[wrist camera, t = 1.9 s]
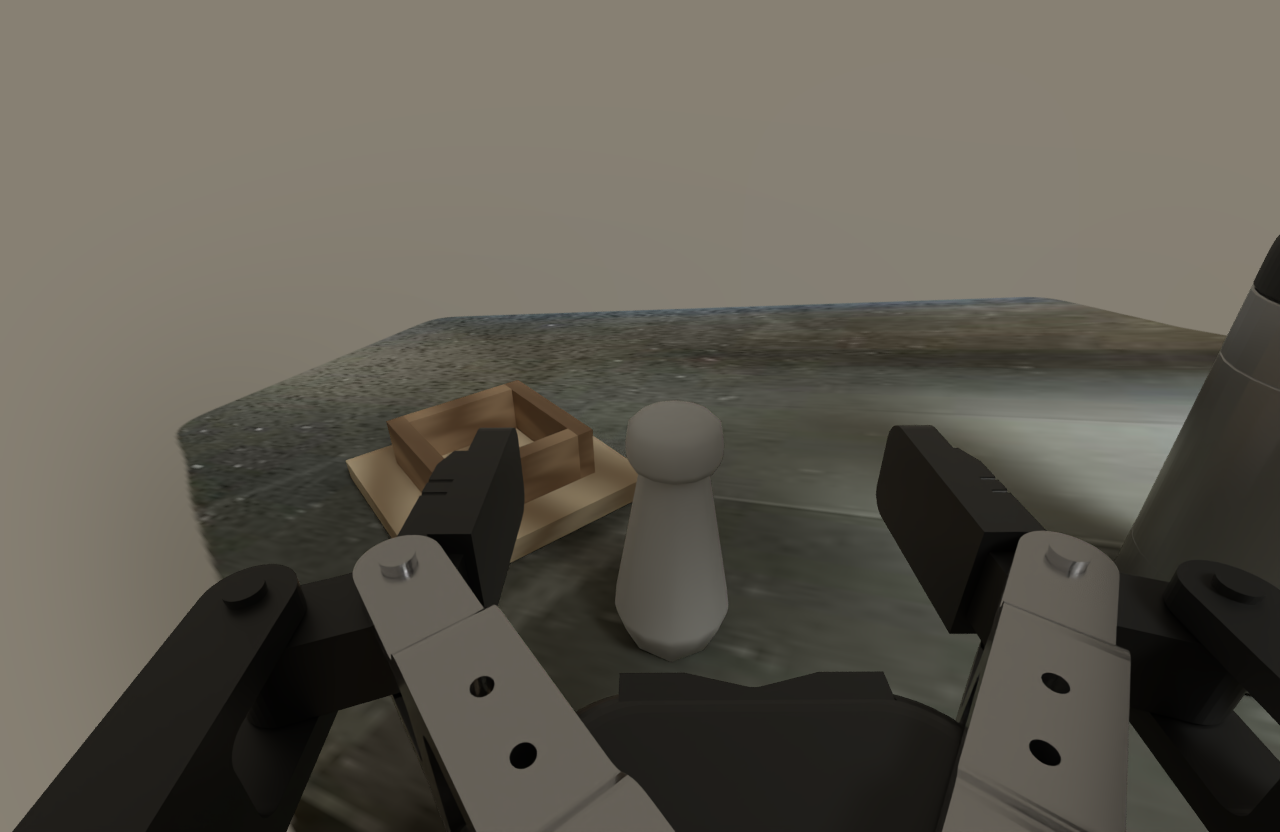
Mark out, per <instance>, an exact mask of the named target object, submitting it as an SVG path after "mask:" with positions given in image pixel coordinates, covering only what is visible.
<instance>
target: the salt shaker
mask: <svg viewBox="0 0 1280 832" xmlns="http://www.w3.org/2000/svg"><path fill="white" fill-rule="evenodd" d="M625 446H626V455H627V458H628V461H629V463H630V464H631V466H632V467H633V468H634V470H635V471H636V473H637V474H638V477H637V482H636V487H635V492H634V497H633V503H632V508H631V513H630V518H629V523H628V528H627V533H626V538H625V543H624V549H623V554H622V559H621V564H620V569H619V574H618V579H617V585H616V597H615V605H616V609H617V612H618V614H619V616H620V618H621V620H622V622H623V624H624V626H625V628H626V630H627V631H628V633H629V634H630V636H631V637H632V638H633V640H634V641H635V643H636V644H637V645H638V647H639V648H640V649H642V650H645V651H647V652H649V653H651V654H654V655H656V656H658V657H660V658H663V659H665V660H667V661H670V662H673V661H676V660H679V659H681V658H684V657H687V656H689V655H692V654H695V653H697V652H700V651H703V650H704V649H705V647H706V646H707V645H708V643H709V642H710V641H711V639H712V638H713V636H714V635H715V634H716V632H717V631H718V629H719V627H720V625H721V623H722V621H723V619H724V618H725V616H726V614H727V610H728V596H727V586H726V579H725V573H724V566H723V559H722V552H721V545H720V538H719V531H718V524H717V518H716V511H715V504H714V497H713V490H712V483H711V475H713V473H714V472H715V470H716V469H717V468H718V466H719V465H720V463H721V461H722V459H723V453H724V438H723V431H722V423H721V421H720V420H719V419H718V418H717V417H716V416H715V415H714V414H713V413H712V412H710V411H709V410H708V409H707V408H706V407H703V406H701V405H698V404H695V403H693V402H685V401H676V400H674V401H663V402H657V403H654V404H651V405H648V406H646V407H644V408H643V409H641V410H640V411H639V412H638V413H637V414H635V415H634V416H633V417H632V418H631V419H630V420H629V421H628V427H627V434H626V443H625Z"/></svg>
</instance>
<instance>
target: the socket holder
mask: <svg viewBox="0 0 1280 832" xmlns="http://www.w3.org/2000/svg"><path fill="white" fill-rule="evenodd" d="M386 422H387V426H388V430H389V434H390V438H391V442H392V445H391V446H388V447H385V448H382V449H379V450H376V451H373V452H370V453H367V454H364V455H361V456H358V457H355V458H352V459H349V460H346V463H347V466H348V469H349V473H350V476H351V478H352V480H353V481H354V483H355V484H356V486H357V487H358V489H359V490H360V492H361V493H362V495H363V496H364V498H365V499H366V501H367V502H368V504H369V505H370V507H371V508H372V510H373V511H374V513H375V514H376V516H377V517H378V519H379V520H380V522H381V523H382V525H383V526H384V528H385V529H386V530H387V532H388V533H389V535H390V536H391V538H395V537H397V535H398V534H399V532H400V530H401V528H402V526H403V525H404V523H405V521H406V519H407V517H408V516H409V514H410V512H411V510H412V508H413V507H414V505H415V503H416V501H417V499H418V498H419V496H421V495H422V490H423V489H424V487H425V485H426V483H428V482H429V478H430V476H431V474H432V472H433V471H434V469H435V467H436V465H437V464H438V463H439V462H441V461H442V460H443V459H444V458H446V457H447V456H448V455H449V454H451V453H452V452H453V451H468V449H469V447H470V445H471V443H472V441H473V439H474V437H475V435H476V433H477V431H478V429H479V428H515V429H516V431H517V435H518V441H519V449H520V457H521V465H522V473H523V482H524V492H525V502H524V513H523V517H522V521H521V525H520V528H519V532H518V535H517V539H516V542H515V546H514V550H513V553H512V557H511V560H510V563H511V562H513V561H515V560H517V559H519V558H521V557H523V556H525V555H527V554H529V553H531V552H533V551H535V550H537V549H539V548H541V547H543V546H545V545H547V544H549V543H551V542H553V541H555V540H557V539H559V538H561V537H563V536H565V535H567V534H569V533H571V532H573V531H575V530H577V529H579V528H581V527H583V526H585V525H587V524H589V523H591V522H593V521H595V520H597V519H599V518H601V517H603V516H605V515H607V514H609V513H611V512H613V511H615V510H617V509H619V508H621V507H623V506H625V505H627V504H629V503H631V502H633V497H634V492H635V487H636V482H637V477H638V474H637V473H636V471H635V470H634V468H633V467H632V466H631V464H630V463H629V461H628V459H626V458H625V457H623V456H622V455H621V454H619V453H618V452H616V451H615V450H613V449H612V448H610V447H609V446H607V445H606V444H604V443H603V442H601V441H600V440H598V439H597V438H595V437H594V436H593V430H592V429H591V428H589V427H588V426H586V425H585V424H583V423H582V422H580V421H579V420H577V419H576V418H574V417H573V416H571V415H570V414H568V413H567V412H565V411H564V410H562V409H561V408H559V407H558V406H556V405H555V404H553V403H552V402H550V401H549V400H547V399H546V398H544V397H543V396H541V395H540V394H538V393H537V392H535V391H534V390H532V389H531V388H529V387H528V386H526V385H525V384H523V383H522V382H520V381H519V380H516V381H513V382H510V383H507V384H504V385H500V386H497V387H494V388H491V389H488V390H484V391H481V392H478V393H475V394H472V395H469V396H465V397H462V398H459V399H456V400H453V401H450V402H446V403H443V404H440V405H437V406H434V407H430V408H427V409H424V410H421V411H418V412H415V413H411V414H408V415H405V416H402V417H399V418H395V419H392V420H389V421H386Z"/></svg>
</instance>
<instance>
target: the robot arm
mask: <svg viewBox="0 0 1280 832" xmlns="http://www.w3.org/2000/svg"><path fill="white" fill-rule="evenodd" d="M876 498H877V506H878V510H879V513H880V515H881V517H882V519H883V520H884V522H885V524H886V525H887V527H888V529H889V531H890V532H891V534H892V536H893V537H894V539H895V541H896V543H897V544H898V546H899V548H900V549H901V551H902V553H903V555H904V556H905V558H906V560H907V561H908V563H909V565H910V567H911V568H912V570H913V572H914V574H915V575H916V577H917V579H918V580H919V582H920V584H921V586H922V587H923V589H924V591H925V592H926V594H927V596H928V598H929V599H930V601H931V603H932V604H933V606H934V608H935V610H936V611H937V613H938V615H939V616H940V618H941V620H942V622H943V623H944V625H945V627H946V629H947V630H948V632H949V634H977V635H978V636H979V638H980V639H981V642H980V644H979V647H978V649H977V652H976V655H975V658H974V661H973V665H972V668H971V671H970V674H969V678H968V681H967V684H966V687H965V691H964V694H963V697H962V700H961V704H960V707H959V710H958V713H957V717H956V720H954V719H952V718H951V717H949V716H947V715H945V714H943V713H941V712H939V711H937V710H936V709H934V708H931V707H929V706H927V705H924V704H922V703H920V702H917V701H914V700H911V699H908V698H905V697H902V696H898V695H894V694H892V691H891V689H890V687H889V684H888V682H887V679H886V677H885V675H884V672H816V673H813V674H809V675H805V676H801V677H797V678H793V679H789V680H785V681H781V682H777V683H773V684H769V685H765V686H761V687H746V686H742V685H737V684H733V683H728V682H724V681H719V680H715V679H710V678H706V677H701V676H696V675H692V674H687V673H620V679H619V694H618V695H615V696H611V697H607V698H604V699H602V700H599V701H597V702H594V703H592V704H590V705H588V706H586V707H584V708H582V709H580V710H578V711H577V712H575V711H574V710H573V709H572V707H571V706H570V704H569V703H568V702H567V700H566V699H565V698H564V696H563V695H562V693H561V692H560V691H559V689H558V688H557V687H556V685H555V684H554V682H553V681H552V680H551V678H550V677H549V676H548V674H547V673H546V671H545V670H544V669H543V667H542V666H541V665H540V663H539V662H538V660H537V659H536V658H535V656H534V655H533V654H532V652H531V651H530V649H529V648H528V647H527V645H526V644H525V643H524V641H523V640H522V638H521V637H520V636H519V634H518V633H517V632H516V630H515V629H514V627H513V626H512V625H511V623H510V622H509V621H508V619H507V618H506V616H505V615H504V614H503V612H502V611H501V610H500V609H499V608H498V603H499V600H500V596H501V592H502V589H503V585H504V582H505V578H506V575H507V571H508V567H509V564H510V560H511V557H512V553H513V550H514V546H515V542H516V539H517V535H518V532H519V528H520V525H521V521H522V517H523V513H524V502H525V492H524V482H523V473H522V465H521V457H520V449H519V441H518V435H517V431H516V429H515V428H479V429H478V431H477V433H476V435H475V437H474V439H473V441H472V443H471V445H470V447H469V449H468V451H453V452H452V453H451V454H449V455H448V456H447V457H446V458H444V459H443V460H442V461H441V462H439V463H438V464H437V465H436V467H435V469H434V471H433V472H432V474H431V476H430V478H429V482H428V483H426V485H425V487H424V489H423V490H422V495H421V496H419V498H418V499H417V501H416V503H415V505H414V507H413V508H412V510H411V512H410V514H409V516H408V517H407V519H406V521H405V523H404V525H403V526H402V528H401V530H400V532H399V534H398V535H397V537H395V538H392V539H389V540H386V541H384V542H381V543H379V544H377V545H376V546H374V547H372V548H371V549H369V550H368V551H367V552H365V553H364V554H363V555H362V556H361V557H360V559H359V560H358V561H357V563H356V565H355V566H354V569H353V572H352V573H349V574H346V575H342V576H339V577H334V578H330V579H325V580H321V581H317V582H312V583H308V584H304V585H300V584H299V581H298V578H297V576H296V573H295V572H294V571H293V570H292V569H290V568H289V567H286V566H283V565H277V564H267V565H259V566H254V567H250V568H247V569H244V570H241V571H239V572H236V573H234V574H232V575H230V576H228V577H226V578H224V579H222V580H221V581H219V582H218V583H216V584H215V585H213V586H212V587H211V588H210V589H208V590H207V591H206V592H205V593H204V594H203V595H202V596H201V598H199V600H198V601H197V602H196V604H195V605H194V606H193V607H192V608H191V610H190V611H189V612H188V613H187V615H186V616H185V617H184V618H183V620H182V621H181V622H180V623H179V625H178V626H177V627H176V628H175V630H174V631H173V632H172V633H171V635H170V636H169V637H168V638H167V640H166V641H165V642H164V643H163V645H162V646H161V647H160V648H159V650H158V651H157V652H156V653H155V655H154V656H153V657H152V658H151V660H150V661H149V662H148V663H147V665H146V666H145V667H144V668H143V670H142V671H141V672H140V673H139V674H138V676H137V677H136V678H135V679H134V681H133V682H132V683H131V684H130V686H129V687H128V688H127V689H126V691H125V692H124V693H123V694H122V696H121V697H120V698H119V699H118V701H117V702H116V703H115V704H114V706H113V707H112V708H111V709H110V711H109V712H108V713H107V714H106V716H105V717H104V718H103V719H102V721H101V722H100V723H99V724H98V726H97V727H96V728H95V729H94V731H93V732H92V733H91V734H90V736H89V737H88V738H87V739H86V741H85V742H84V743H83V744H82V746H81V747H80V748H79V749H78V751H77V752H76V753H75V754H74V756H73V757H72V758H71V759H70V760H69V762H68V763H67V764H66V766H65V767H64V768H63V769H62V770H61V772H60V773H59V774H58V775H57V777H56V778H55V779H54V781H53V782H52V783H51V784H50V785H49V787H48V788H47V789H46V790H45V792H44V793H43V794H42V795H41V797H40V798H39V799H38V800H37V802H36V803H35V804H34V805H33V807H32V808H31V809H30V810H29V812H28V813H27V814H26V815H25V817H24V818H23V819H22V820H21V822H20V823H19V824H18V825H17V827H16V828H15V829H14V830H13V832H286V831H287V829H288V827H289V824H290V822H291V820H292V817H293V815H294V813H295V810H296V808H297V806H298V803H299V801H300V798H301V796H302V794H303V791H304V789H305V787H306V784H307V782H308V780H309V777H310V775H311V773H312V770H313V768H314V766H315V763H316V761H317V759H318V756H319V754H320V752H321V749H322V747H323V745H324V742H325V740H326V738H327V735H328V733H329V731H330V728H331V726H332V724H333V721H334V719H335V717H336V714H337V712H338V710H342V709H345V708H348V707H352V706H355V705H359V704H362V703H366V702H369V701H372V700H376V699H379V698H383V697H386V696H391V698H392V701H393V703H394V705H395V708H396V710H397V712H398V714H399V717H400V719H401V721H402V724H403V726H404V728H405V731H406V733H407V735H408V737H409V740H410V742H411V744H412V747H413V749H414V751H415V754H416V756H417V758H418V760H419V763H420V765H421V767H422V770H423V772H424V774H425V777H426V779H427V782H428V784H429V787H430V789H431V792H432V795H433V797H434V800H435V803H436V806H437V808H438V811H439V814H440V816H441V819H442V821H443V824H444V826H445V829H446V831H447V832H1126V807H1127V773H1128V738H1129V722H1130V723H1131V725H1132V726H1133V727H1134V729H1135V730H1136V732H1137V733H1138V734H1139V736H1140V737H1141V738H1142V740H1143V741H1144V743H1145V744H1146V745H1147V747H1148V748H1149V749H1150V751H1151V752H1152V754H1153V755H1154V756H1155V758H1156V759H1157V761H1158V762H1159V763H1160V765H1161V766H1162V767H1163V769H1164V770H1165V772H1166V773H1167V774H1168V776H1169V777H1170V779H1171V780H1172V781H1173V783H1174V784H1175V785H1176V787H1177V788H1178V790H1179V791H1180V792H1181V794H1182V795H1183V796H1184V798H1185V799H1186V801H1187V802H1188V803H1189V805H1190V806H1191V808H1192V809H1193V810H1194V812H1195V813H1196V814H1197V816H1198V817H1199V819H1200V820H1201V821H1202V823H1203V824H1204V826H1205V827H1206V828H1207V830H1208V831H1209V832H1280V761H1279V760H1278V759H1277V758H1276V757H1275V756H1274V755H1273V754H1272V753H1271V751H1270V750H1269V749H1268V748H1267V747H1266V746H1265V745H1264V744H1263V743H1262V742H1261V740H1260V739H1259V738H1258V737H1257V736H1256V735H1255V734H1254V733H1253V732H1252V730H1251V729H1250V728H1249V727H1248V726H1247V725H1246V724H1245V723H1244V722H1243V721H1242V719H1241V718H1240V717H1239V716H1238V715H1237V714H1236V713H1235V712H1234V711H1233V710H1234V708H1235V707H1236V705H1237V704H1238V703H1239V701H1240V700H1241V699H1242V697H1243V696H1244V695H1245V693H1248V694H1250V695H1251V696H1252V697H1253V698H1254V699H1255V700H1256V701H1257V702H1258V703H1259V704H1260V705H1261V706H1262V707H1263V708H1264V709H1265V710H1266V711H1267V712H1268V713H1269V714H1270V715H1271V717H1272V718H1273V719H1274V720H1275V721H1276V722H1277V723H1278V724H1279V725H1280V235H1279V236H1278V237H1277V238H1276V240H1275V241H1274V243H1273V245H1272V247H1271V248H1270V250H1269V252H1268V254H1267V256H1266V258H1265V260H1264V262H1263V264H1262V266H1261V268H1260V270H1259V272H1258V274H1257V276H1256V278H1255V280H1254V284H1253V285H1252V287H1251V289H1250V291H1249V293H1248V295H1247V297H1246V299H1245V301H1244V303H1243V305H1242V307H1241V309H1240V311H1239V313H1238V315H1237V317H1236V319H1235V321H1234V323H1233V325H1232V327H1231V329H1230V331H1229V333H1228V335H1227V337H1226V339H1225V341H1224V343H1223V345H1222V348H1221V350H1220V352H1219V354H1218V356H1217V358H1216V360H1215V362H1214V364H1213V366H1212V368H1211V370H1210V372H1209V374H1208V376H1207V378H1206V380H1205V382H1204V384H1203V386H1202V388H1201V390H1200V392H1199V394H1198V396H1197V399H1196V401H1195V403H1194V405H1193V407H1192V409H1191V411H1190V413H1189V415H1188V417H1187V419H1186V421H1185V423H1184V425H1183V427H1182V429H1181V431H1180V433H1179V435H1178V437H1177V439H1176V441H1175V443H1174V445H1173V447H1172V449H1171V451H1170V453H1169V455H1168V457H1167V459H1166V461H1165V463H1164V465H1163V467H1162V469H1161V471H1160V473H1159V475H1158V477H1157V479H1156V481H1155V483H1154V485H1153V487H1152V489H1151V491H1150V493H1149V495H1148V497H1147V499H1146V501H1145V503H1144V505H1143V507H1142V509H1141V511H1140V513H1139V515H1138V517H1137V519H1136V521H1135V523H1134V524H1133V526H1132V528H1131V530H1130V532H1129V534H1128V536H1127V538H1126V540H1125V542H1124V544H1123V546H1122V548H1121V550H1120V552H1119V554H1118V556H1117V558H1116V560H1115V562H1113V561H1112V560H1111V559H1110V558H1109V557H1108V556H1107V555H1106V554H1105V553H1103V552H1102V551H1101V550H1099V549H1098V548H1096V547H1095V546H1093V545H1091V544H1089V543H1087V542H1085V541H1083V540H1081V539H1078V538H1076V537H1073V536H1070V535H1066V534H1063V533H1058V532H1052V531H1046V530H1045V529H1044V528H1043V527H1042V526H1041V525H1040V523H1039V522H1038V521H1037V520H1036V519H1035V518H1034V517H1033V516H1032V515H1031V514H1030V513H1029V512H1028V511H1027V510H1026V509H1025V508H1024V507H1023V505H1022V504H1021V503H1020V502H1019V501H1018V500H1017V499H1016V498H1015V497H1014V496H1013V495H1012V494H1011V493H1007V489H1006V488H1005V486H1004V485H1003V484H1002V483H1001V482H1000V481H999V480H995V476H994V475H993V474H992V473H991V472H990V471H989V470H988V469H987V467H986V466H985V465H984V464H983V463H982V462H981V461H979V460H978V459H976V458H974V457H973V456H971V455H969V454H967V453H966V452H964V451H962V450H961V449H959V448H953V447H952V446H951V445H950V444H949V443H948V442H947V440H946V439H945V438H944V437H943V436H942V435H941V434H940V433H939V432H938V430H937V429H936V428H935V427H933V426H930V425H911V426H894V427H892V429H891V430H890V432H889V435H888V439H887V443H886V448H885V452H884V457H883V461H882V466H881V470H880V475H879V479H878V484H877V490H876Z"/></svg>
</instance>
